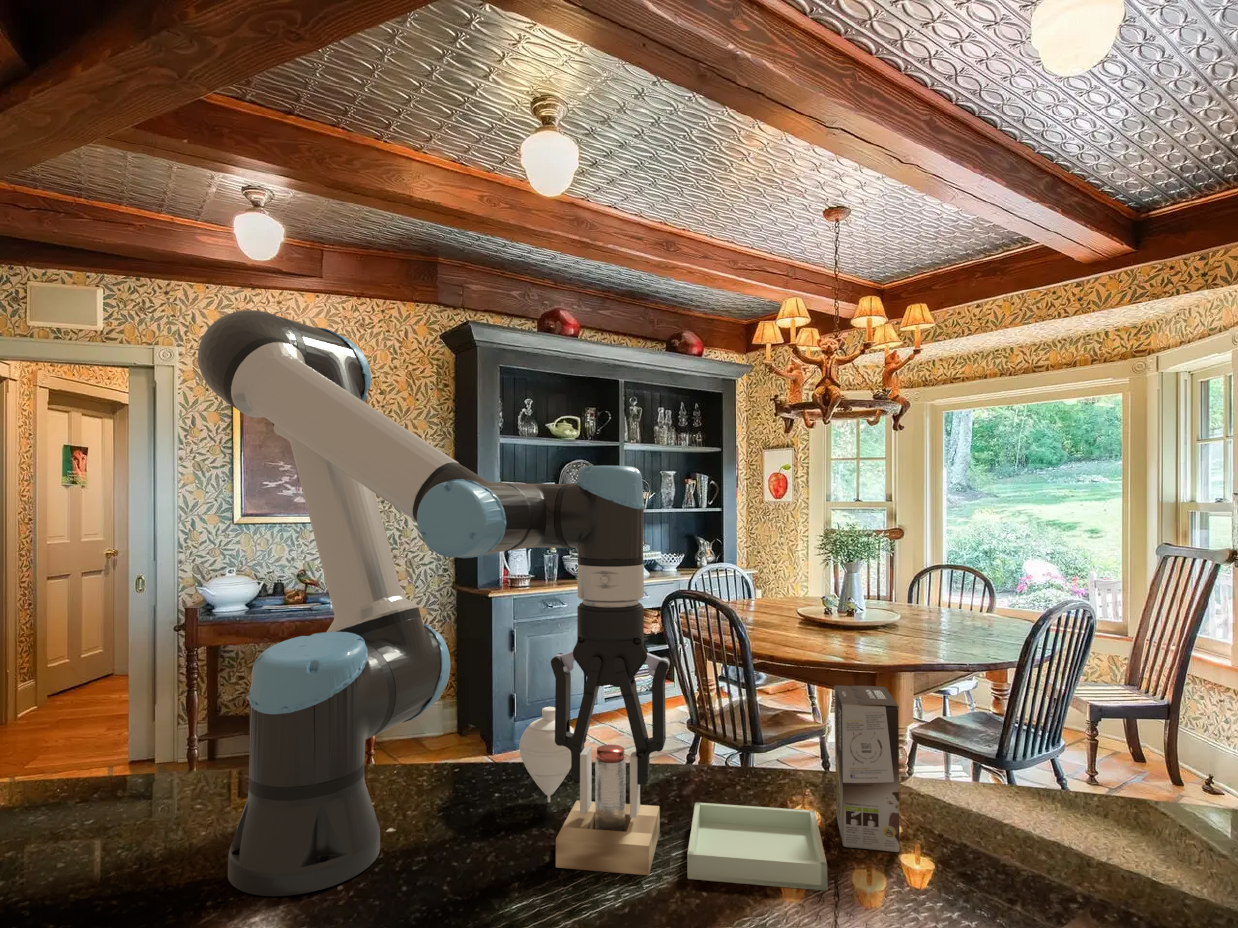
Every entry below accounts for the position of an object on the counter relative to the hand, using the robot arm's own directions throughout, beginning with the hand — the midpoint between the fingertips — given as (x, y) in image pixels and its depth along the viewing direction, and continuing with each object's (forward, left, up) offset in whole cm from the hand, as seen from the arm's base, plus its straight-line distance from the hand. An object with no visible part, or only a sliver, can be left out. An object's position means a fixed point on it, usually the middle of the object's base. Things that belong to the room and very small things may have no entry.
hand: (610, 810), depth 83 cm
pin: (0, 0, -4) cm, 4 cm away
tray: (+16, +2, -4) cm, 17 cm away
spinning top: (-10, +11, -4) cm, 16 cm away
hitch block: (0, 0, -4) cm, 4 cm away
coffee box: (+29, +9, -4) cm, 31 cm away
